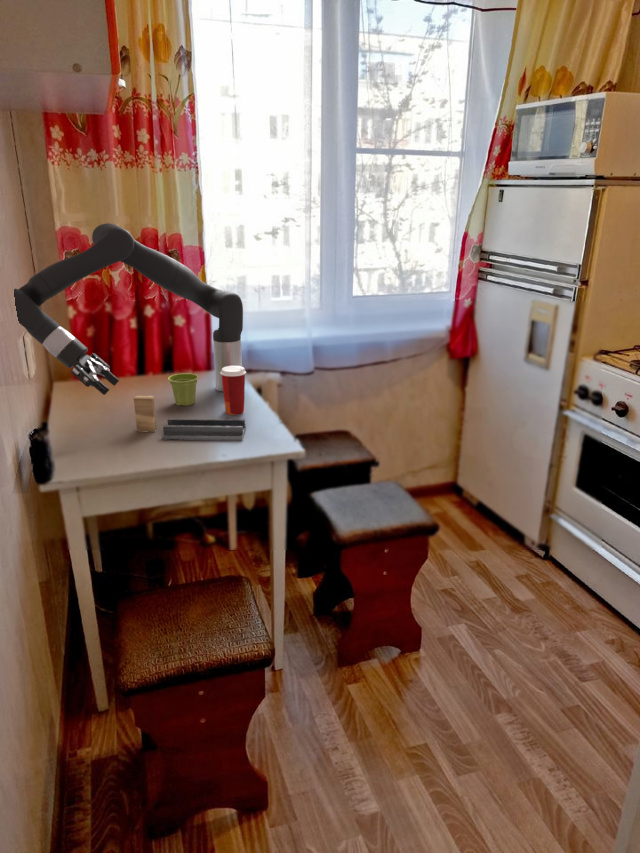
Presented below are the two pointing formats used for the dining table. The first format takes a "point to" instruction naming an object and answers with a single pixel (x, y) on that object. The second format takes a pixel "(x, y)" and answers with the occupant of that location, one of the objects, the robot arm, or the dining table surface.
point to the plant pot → (184, 388)
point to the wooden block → (145, 413)
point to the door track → (204, 429)
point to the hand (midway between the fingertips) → (112, 387)
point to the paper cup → (233, 389)
